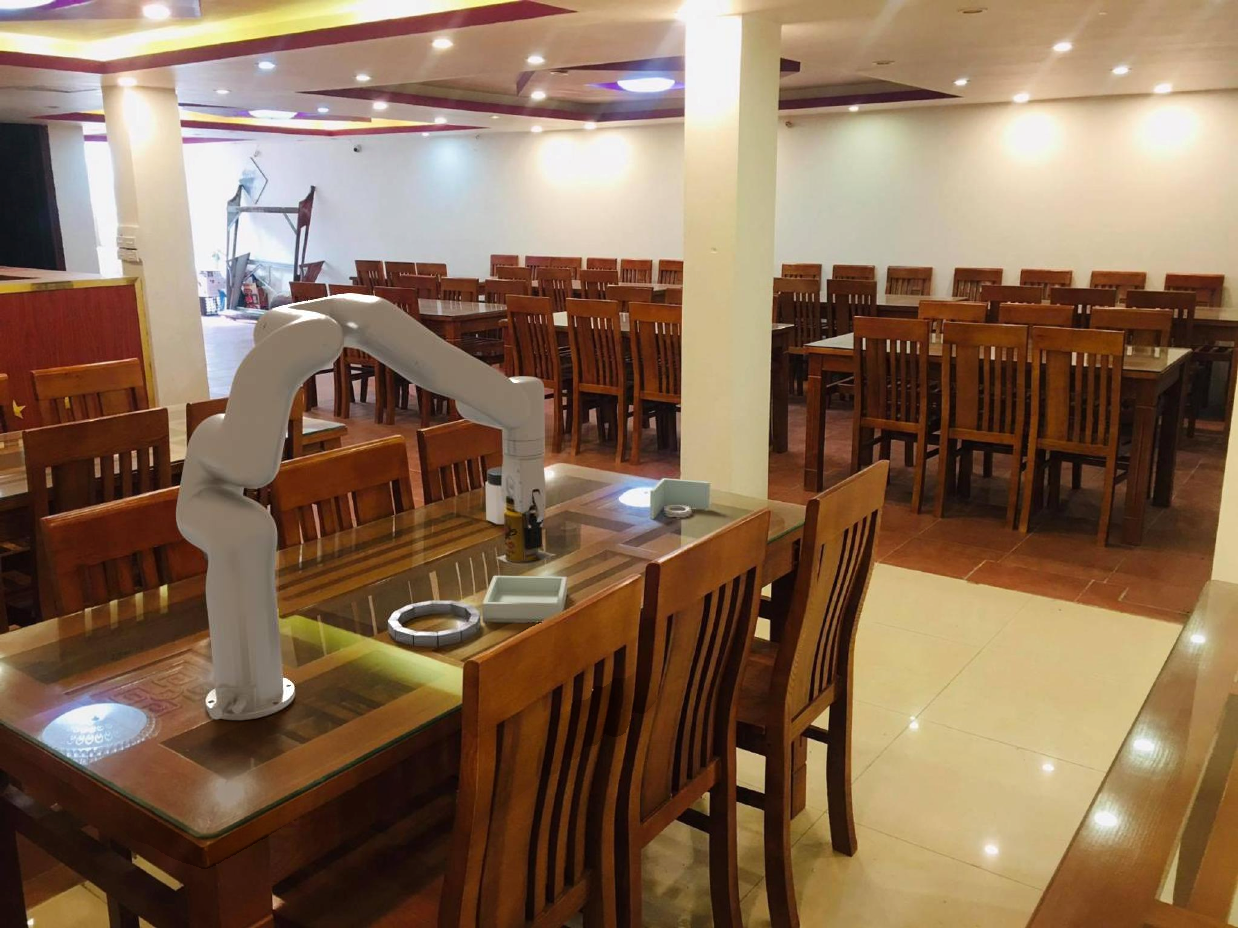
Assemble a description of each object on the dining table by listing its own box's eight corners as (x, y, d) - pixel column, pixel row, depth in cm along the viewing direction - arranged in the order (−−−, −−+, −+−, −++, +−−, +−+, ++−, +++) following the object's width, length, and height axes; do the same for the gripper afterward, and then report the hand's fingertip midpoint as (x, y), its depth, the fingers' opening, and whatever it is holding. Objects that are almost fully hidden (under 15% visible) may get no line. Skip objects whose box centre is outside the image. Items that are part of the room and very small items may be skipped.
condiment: (495, 558, 184) (493, 495, 181) (529, 547, 190) (528, 486, 187) (522, 568, 179) (521, 503, 176) (556, 556, 185) (555, 493, 182)
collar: (471, 647, 169) (471, 636, 169) (380, 645, 170) (379, 634, 169) (485, 611, 184) (485, 601, 184) (401, 610, 185) (400, 599, 184)
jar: (498, 512, 244) (497, 464, 242) (528, 516, 242) (528, 467, 239) (481, 522, 236) (479, 473, 233) (512, 526, 234) (511, 476, 231)
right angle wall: (649, 520, 241) (650, 490, 239) (662, 507, 252) (662, 478, 250) (699, 525, 238) (700, 495, 236) (709, 511, 249) (710, 482, 247)
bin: (561, 623, 180) (560, 604, 179) (482, 621, 180) (482, 603, 179) (566, 593, 193) (566, 576, 192) (494, 592, 193) (493, 575, 193)
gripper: (486, 439, 185) (488, 532, 189) (523, 459, 170) (525, 560, 174) (523, 434, 188) (525, 526, 192) (563, 454, 173) (564, 553, 178)
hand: (525, 541), depth 183 cm, fingers closed on condiment, 6 cm apart
